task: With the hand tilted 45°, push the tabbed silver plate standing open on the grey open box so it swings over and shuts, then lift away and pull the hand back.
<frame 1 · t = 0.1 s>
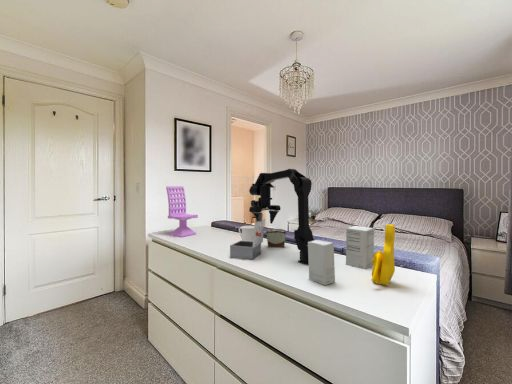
hand: (265, 224, 139), 15 cm above the table, tool pointing down, fingers open, 9 cm apart
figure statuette: (382, 283, 94), on the table
tabbed silver plate: (260, 229, 126), point 14 cm above the table, hinge at 95.0°
skincare box: (321, 281, 96), on the table
supplement box: (359, 265, 115), on the table
mug: (247, 243, 156), on the table
food container: (276, 246, 149), on the table
grey open box: (245, 255, 130), on the table
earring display: (181, 234, 184), on the table
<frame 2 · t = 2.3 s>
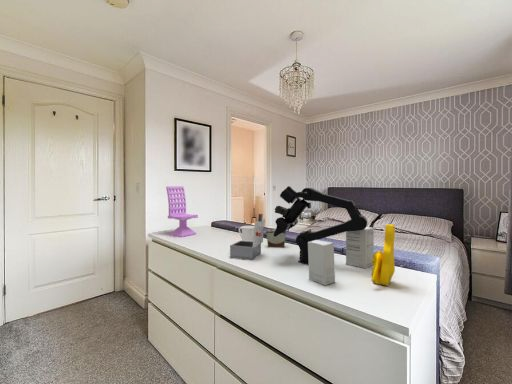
hand: (277, 234, 124), 12 cm above the table, tool tilted 35°, fingers open, 9 cm apart
supplement box: (359, 264, 115), on the table, touching arm
everything else where it was.
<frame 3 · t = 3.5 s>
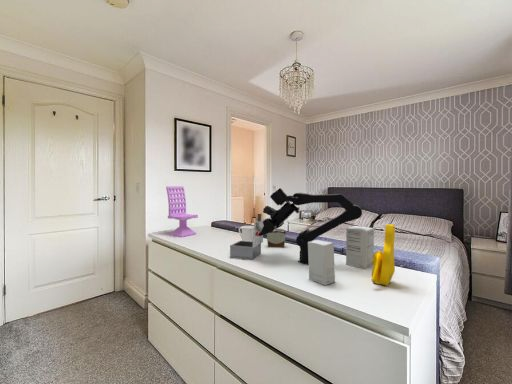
hand: (262, 233, 126), 12 cm above the table, tool tilted 45°, fingers open, 9 cm apart
tabbed silver plate: (260, 229, 126), point 14 cm above the table, hinge at 93.0°, touching gripper
supplement box: (359, 265, 115), on the table
everything else where it was.
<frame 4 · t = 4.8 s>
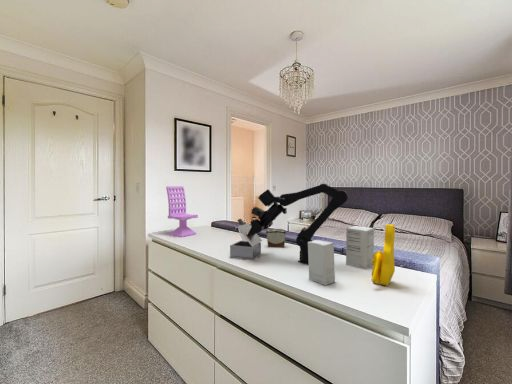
hand: (251, 234, 128), 11 cm above the table, tool tilted 45°
tabbed silver plate: (249, 230, 129), point 13 cm above the table, hinge at 48.6°, touching gripper
everything else where it was.
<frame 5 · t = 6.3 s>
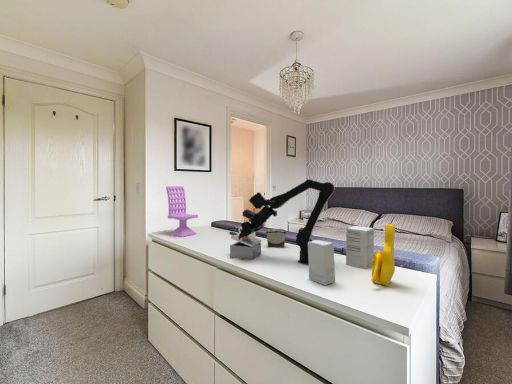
hand: (242, 236, 130), 10 cm above the table, tool tilted 45°
tabbed silver plate: (243, 236, 130), point 10 cm above the table, hinge at 16.5°, touching gripper
everything else where it was.
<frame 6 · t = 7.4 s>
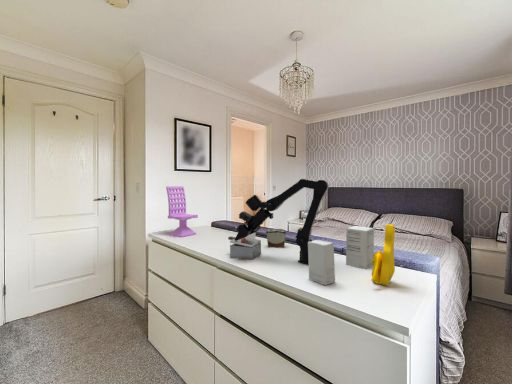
hand: (239, 238, 131), 9 cm above the table, tool tilted 45°, fingers open, 9 cm apart
tabbed silver plate: (242, 239, 130), point 8 cm above the table, hinge at 5.9°
everything else where it was.
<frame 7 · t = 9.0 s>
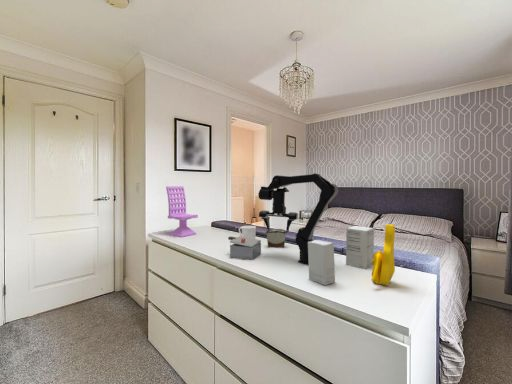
hand: (277, 232, 126), 13 cm above the table, tool pointing down, fingers open, 9 cm apart
nothing on the table moved.
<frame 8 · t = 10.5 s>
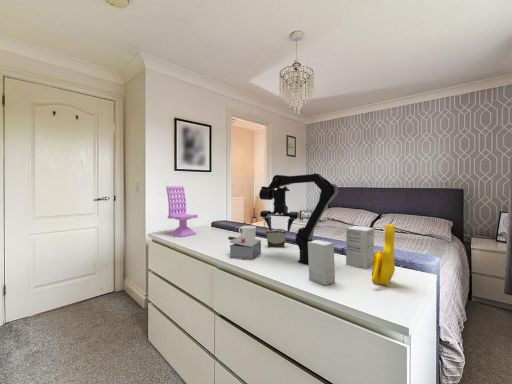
hand: (279, 231, 126), 13 cm above the table, tool pointing down, fingers open, 9 cm apart
nothing on the table moved.
at the end: tabbed silver plate at +6° (first picture: +95°); food container moved 0.2 cm from its start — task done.
